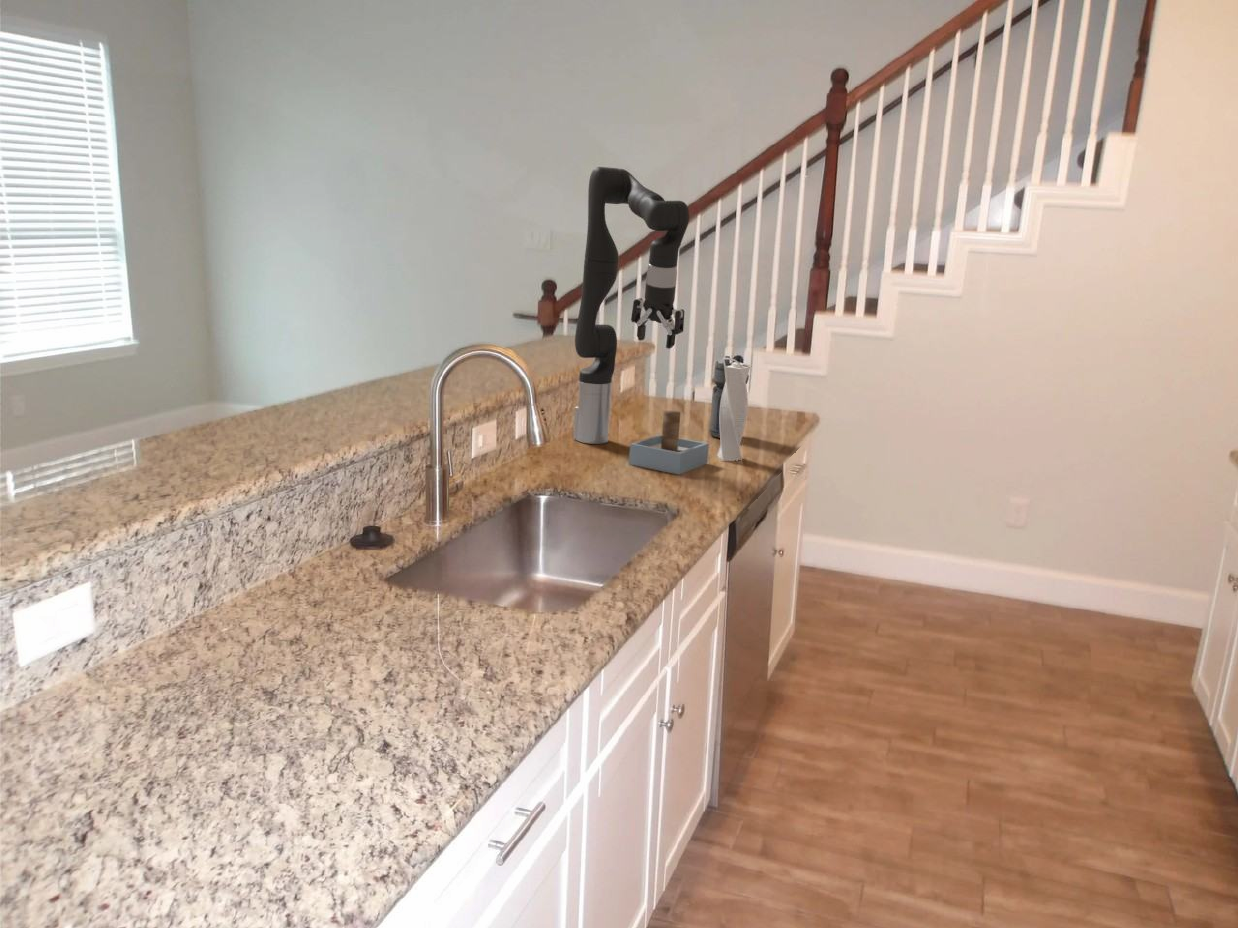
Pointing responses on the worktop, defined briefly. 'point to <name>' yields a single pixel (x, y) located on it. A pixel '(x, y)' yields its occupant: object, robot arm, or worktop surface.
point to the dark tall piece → (719, 393)
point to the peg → (670, 430)
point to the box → (668, 455)
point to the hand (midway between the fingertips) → (655, 343)
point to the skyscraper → (733, 410)
